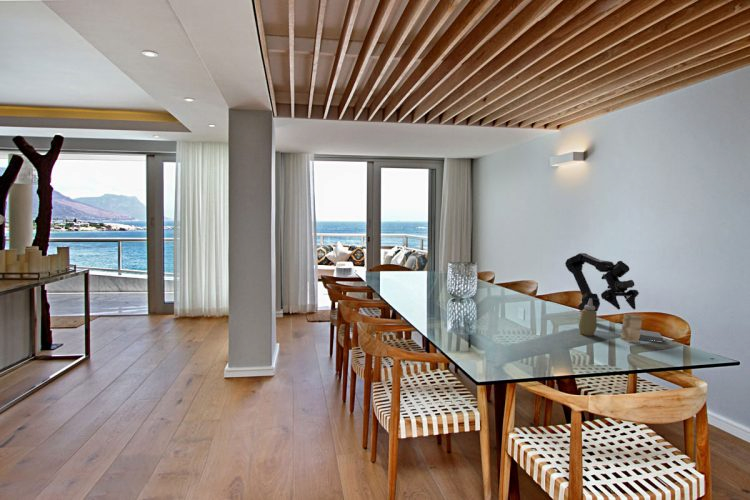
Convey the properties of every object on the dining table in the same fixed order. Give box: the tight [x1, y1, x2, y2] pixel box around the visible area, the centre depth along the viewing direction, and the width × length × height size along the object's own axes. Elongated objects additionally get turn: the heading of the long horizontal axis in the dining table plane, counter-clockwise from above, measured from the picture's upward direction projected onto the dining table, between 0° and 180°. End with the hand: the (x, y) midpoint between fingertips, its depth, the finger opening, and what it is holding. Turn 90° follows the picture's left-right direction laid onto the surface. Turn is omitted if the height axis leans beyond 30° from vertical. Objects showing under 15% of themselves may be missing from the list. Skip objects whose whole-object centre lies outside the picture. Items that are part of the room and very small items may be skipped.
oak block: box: [620, 313, 643, 344], centre depth 216 cm, size 6×6×12 cm
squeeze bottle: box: [578, 299, 598, 337], centre depth 223 cm, size 8×8×18 cm
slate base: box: [639, 329, 664, 342], centre depth 224 cm, size 11×11×2 cm
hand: (627, 309), depth 224 cm, fingers open, 9 cm apart
